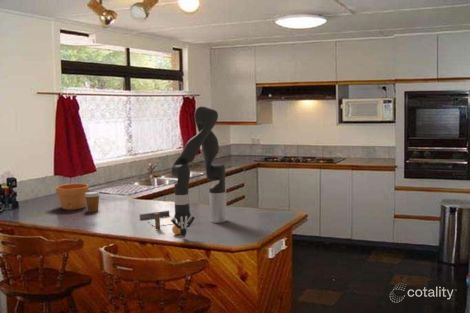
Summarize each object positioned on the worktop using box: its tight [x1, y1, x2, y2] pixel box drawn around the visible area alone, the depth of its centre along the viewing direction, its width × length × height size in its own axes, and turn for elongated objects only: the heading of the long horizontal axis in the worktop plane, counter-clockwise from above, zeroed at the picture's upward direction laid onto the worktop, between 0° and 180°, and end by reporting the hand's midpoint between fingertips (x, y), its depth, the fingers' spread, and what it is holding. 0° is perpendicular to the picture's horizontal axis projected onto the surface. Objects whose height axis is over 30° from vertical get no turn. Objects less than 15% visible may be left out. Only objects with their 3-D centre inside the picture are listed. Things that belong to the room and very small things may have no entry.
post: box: [154, 213, 161, 230], centre depth 296 cm, size 3×3×9 cm
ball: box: [171, 224, 181, 236], centre depth 284 cm, size 6×6×6 cm
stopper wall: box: [139, 210, 170, 220], centre depth 325 cm, size 2×18×3 cm, turn 114°
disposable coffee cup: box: [85, 190, 100, 213], centre depth 350 cm, size 10×10×12 cm
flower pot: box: [55, 182, 90, 211], centre depth 362 cm, size 21×21×15 cm
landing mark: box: [162, 217, 174, 226], centre depth 312 cm, size 14×14×1 cm
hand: (183, 235), depth 276 cm, fingers closed
